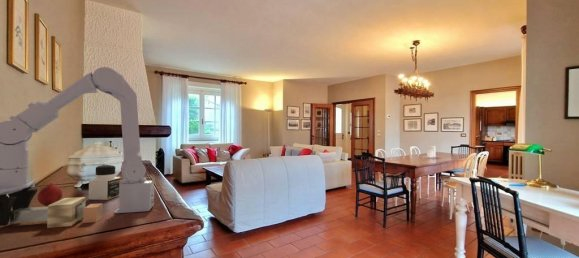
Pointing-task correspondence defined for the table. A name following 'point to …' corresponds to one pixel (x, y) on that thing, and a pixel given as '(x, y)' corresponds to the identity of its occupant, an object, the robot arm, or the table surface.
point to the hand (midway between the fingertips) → (11, 221)
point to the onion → (49, 194)
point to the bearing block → (64, 212)
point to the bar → (38, 214)
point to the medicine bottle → (104, 184)
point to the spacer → (93, 213)
